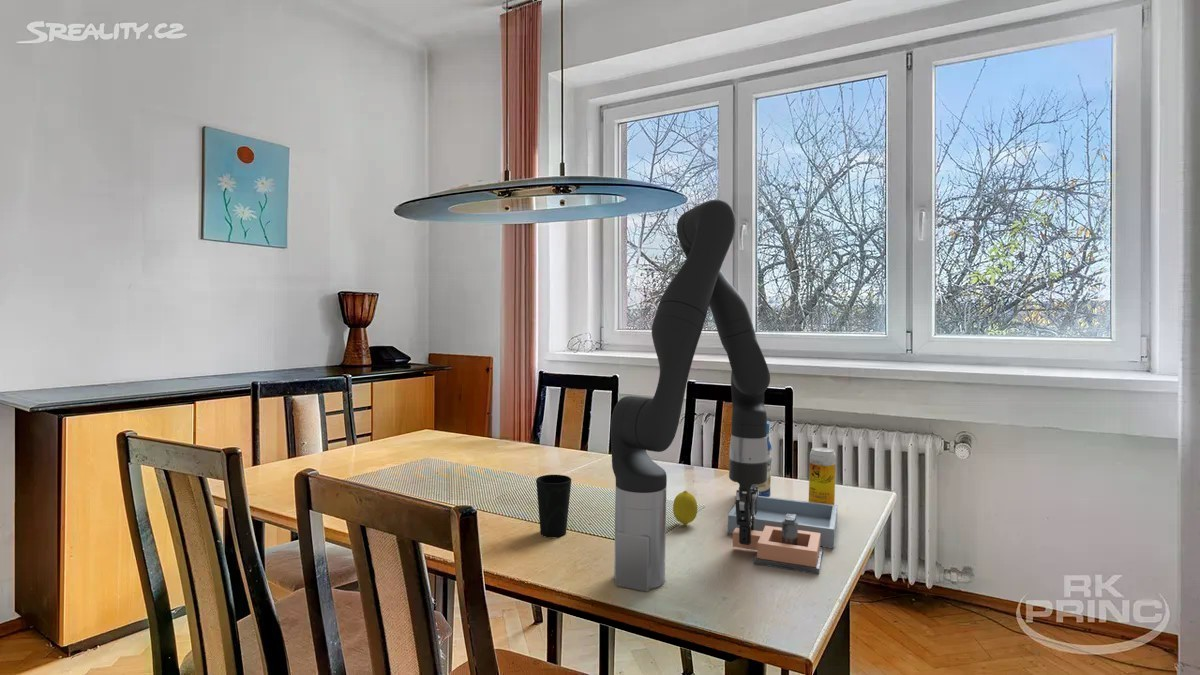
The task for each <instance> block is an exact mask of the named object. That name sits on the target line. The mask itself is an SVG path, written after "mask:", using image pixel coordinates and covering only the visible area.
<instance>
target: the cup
mask: <svg viewBox="0 0 1200 675" xmlns="http://www.w3.org/2000/svg"><path fill="white" fill-rule="evenodd" d="M535 482H536V483H535V485H536V495H537V504H538V505H537V507H538V519H539V531H540V536H542V535H543V536H542V537H544V536H545V537H544V538H548V537H557V538H561V536H562V537H564V536H566V535H567V529H568V528H567V527H568V517H569V509H570V508H569V507H570V499H571V498H570V496H571V487H572V478H571V477H570V476H568V475H564V474H545V475H540V476H538V477H537V478H536V479H535Z"/></svg>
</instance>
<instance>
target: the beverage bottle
mask: <svg viewBox="0 0 1200 675" xmlns="http://www.w3.org/2000/svg"><path fill="white" fill-rule="evenodd" d="M769 434H770V422H769V421H767V436H769ZM767 446H768V454H767V480H766V482H765V483H762V484H757V485H756V486H758V488H759V495H758V496H764V497H771V480H772V479H771V478H772V460H773V456H772V454H771V451H772V450H773V449H772V444H771V441H770V439H769V438H768V437H767ZM739 487H740V484H739V483H738V488H739Z"/></svg>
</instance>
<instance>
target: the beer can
mask: <svg viewBox="0 0 1200 675" xmlns="http://www.w3.org/2000/svg"><path fill="white" fill-rule="evenodd" d="M810 450H811V451H810V452H809V473H808V474H809V475H808V476H809V477H808V479H809V480H808V502H814V503H822V504H830V505H835V496H836V495H835V493H836V489H835V488H836V465H837V464H836V461H837V460H836V459H837V458H836V457H837V455H836V452H835V450H834V449H833V448H830V447H829V448H828V447H821V446H820V447H819V446H817V447H816V446H815V447H812V448H811V449H810Z"/></svg>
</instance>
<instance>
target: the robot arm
mask: <svg viewBox="0 0 1200 675" xmlns="http://www.w3.org/2000/svg"><path fill="white" fill-rule="evenodd" d="M736 218H737V217H736V214H735V211H734V209H733V207H732V206H731V205H730V203H729V202H727V201H725V200H723V199H716V198H715V199H711V200H707V201H704V202H702V203H700V204H698V205H696V206H694V207H692V208H691V209H689V210H687V211H685V212H684V213H682V214H681V215H680V217H678V220H677V223H676V234H677V240H678V241H679V244H680V246H681V249H682V251H683V253H684V255H685V257H686V259H685V261H684V263H683V264H682V266H681V267H680V269H679V270H678V272H677V273H676V274H675V276H674V277H673V278H672V280H671V281H670V283H669V285H668V286H667V287H666V288H665V290H664V292H663V294H662V295H661V298H660V300H659V302H658V306H657V308H656V309H657V310H656V313H655V315H654V319H653V322H652V325H651V339H652V343H653V347H654V350H655V354H656V357H657V360H658V366H659V374H658V375H659V377H658V382H657V386H656V390H655V393H654V396H653V397H652V398H651V397H643V396H637V395H635V396H633V395H629V396H624V397H622V398H620V399H619V400H618V401H617V402H616V404H615V406H614V408H613V411H612V414H611V418H610V419H611V420H610V443H611V444H610V445H611V447H610V448H611V465H612V466H611V467H612V470H613V471H612V472H613V474H614V477H615V494H614V495H615V499H614V500H615V501H614V502H615V503H614V506H615V507H614V509H615V510H614V511H615V512H614V564H613V565H614V567H613V568H614V570H613V572H614V575H613V576H614V585H615V586H617V587H621V588H628V589H631V590H632V589H633V590H637V591H644V592H649V591H651V590H652V589H655V588H658V587H661V586H662V585H664V583H665V581H666V538H667V537H666V535H667V531H666V528H667V527H666V524H667V523H666V522H667V481H668V480H667V478H668V476H667V472H666V471H665V469H664V468H663V467H661V466H660V465H658V463H656V462H655V461H654V460H653V459H652V458H651V457H650V456H649V454H648V453H647V451H650V452H655V453H661V452H662V453H663V452H665V451H667V450H668V449H669V448H670V446H671V445H672V443H673V441H674V439H675V438H676V434H677V431H678V428H679V424H680V423H679V422H680V419H681V414H682V409H683V402H684V399H685V398H684V397H685V393H686V388H687V384H688V381H689V380H688V379H689V374H690V370H691V368H692V363H693V360H694V356H695V353H696V350H697V347H698V343H699V340H700V338H701V334H702V330H703V328H704V325H705V322H706V318H707V313H708V310H709V308H710V311H711V314H712V316H713V317H712V318H713V319H714V323H715V326H716V330H717V333H718V336H719V339H720V343H721V345H722V348H723V349H724V351H725V353H726V354H727V355H726V356H727V358H728V361H729V362H728V363H729V365H730V369H731V374H730V391H731V392H730V393H731V394H730V395H731V405H732V411H731V433H730V435H731V436H730V441H729V442H730V443H729V458H728V459H729V461H728V462H729V466H728V468H729V469H728V470H729V472H728V478H729V480H731V481H732V482H734V483H737V484H738V485H739V484H740V487H739V486H738V489H736V492H735V493H736V494H735V499H736V500H735V501H734V505H735V504H736V518H737V521H736V523H737V525H740V526H739V543H740V544H744V545H749V544H750V543H751V530H754V521H752V520H755V515H756V513H757V499H758V495H759V488H758V486H756V485H757V484H762V483H765V482H766V480H767V454H768V446H767V438H768V435H767V422H768V417H767V410H766V408H765V392H766V390H768V388H769V386H770V383H771V373H770V369H769V367H768V364H767V362H766V359H765V357H764V354H763V351H762V349H761V347H760V344H759V343H758V342H759V341H758V340H757V337H756V331H755V328H754V325H753V321H752V317H751V315H750V311H749V309H748V306H747V303H746V302H745V300H744V298H743V297H742V296H741V294H740V293H739V292H738V290H737V289H736V288H735V287H734V286H733V284H732V283H731V282H730V281H729V279H727V277H726V275H725V274H724V273H723V271H722V270H721V268H722V266H723V263H724V261H725V258H726V256H727V255H728V251H729V249H730V246H731V244H732V242H733V239H734V236H735V234H736V228H737V219H736ZM744 519H745V520H744Z"/></svg>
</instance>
